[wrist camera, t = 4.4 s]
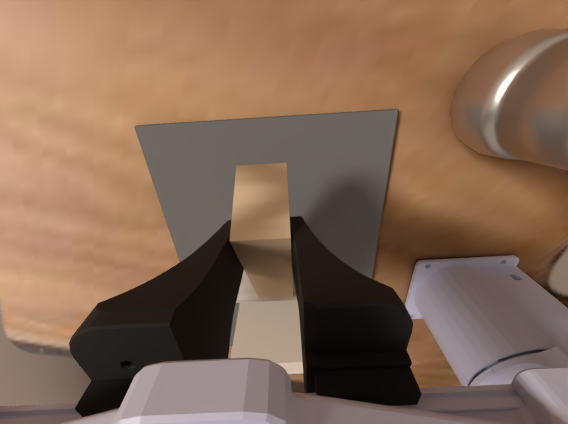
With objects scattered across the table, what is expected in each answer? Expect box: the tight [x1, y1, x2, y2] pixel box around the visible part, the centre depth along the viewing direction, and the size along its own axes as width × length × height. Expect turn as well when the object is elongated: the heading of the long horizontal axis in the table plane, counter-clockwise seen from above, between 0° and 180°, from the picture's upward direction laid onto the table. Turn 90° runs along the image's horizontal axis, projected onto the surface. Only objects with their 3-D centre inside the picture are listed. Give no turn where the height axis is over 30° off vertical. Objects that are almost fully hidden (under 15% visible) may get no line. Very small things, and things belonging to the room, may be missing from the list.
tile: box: [230, 300, 303, 374], centre depth 21 cm, size 7×2×8 cm, turn 93°
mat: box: [134, 109, 398, 346], centre depth 23 cm, size 18×25×1 cm
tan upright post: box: [230, 163, 297, 303], centre depth 15 cm, size 6×10×4 cm, turn 3°
